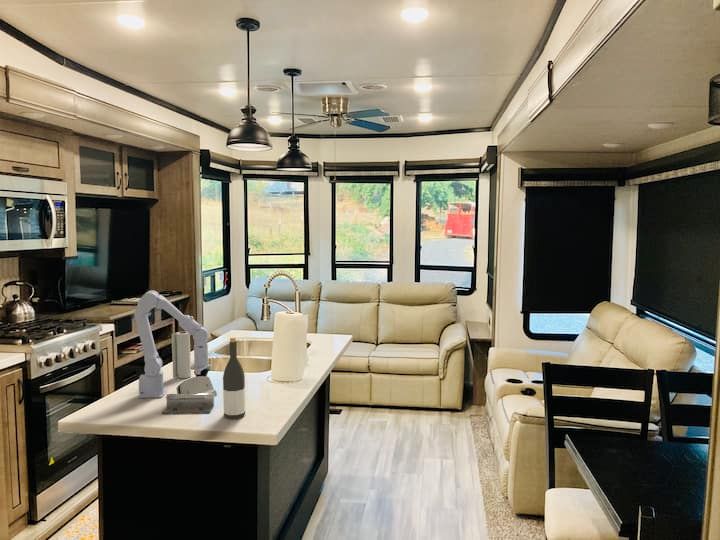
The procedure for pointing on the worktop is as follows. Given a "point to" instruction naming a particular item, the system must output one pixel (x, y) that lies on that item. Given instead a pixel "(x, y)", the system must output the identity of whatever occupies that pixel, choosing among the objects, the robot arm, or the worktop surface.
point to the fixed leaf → (189, 403)
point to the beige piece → (196, 386)
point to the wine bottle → (234, 385)
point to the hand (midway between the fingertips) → (202, 386)
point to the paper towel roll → (181, 355)
